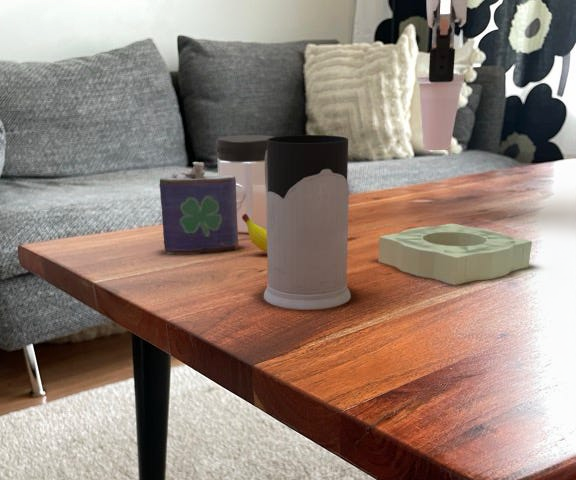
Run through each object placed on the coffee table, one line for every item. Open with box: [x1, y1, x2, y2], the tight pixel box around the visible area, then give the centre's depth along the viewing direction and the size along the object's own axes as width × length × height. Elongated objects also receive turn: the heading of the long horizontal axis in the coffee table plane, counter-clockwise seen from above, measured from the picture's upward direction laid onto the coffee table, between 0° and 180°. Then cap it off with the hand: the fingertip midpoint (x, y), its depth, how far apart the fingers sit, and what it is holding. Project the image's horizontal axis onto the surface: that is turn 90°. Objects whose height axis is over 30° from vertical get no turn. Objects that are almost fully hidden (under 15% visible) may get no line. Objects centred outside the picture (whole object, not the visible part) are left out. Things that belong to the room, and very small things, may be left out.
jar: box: [216, 134, 273, 234], centre depth 99 cm, size 9×8×12 cm
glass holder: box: [263, 134, 352, 311], centre depth 71 cm, size 9×14×15 cm, turn 24°
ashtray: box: [377, 222, 533, 286], centre depth 82 cm, size 13×13×3 cm
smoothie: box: [416, 73, 465, 151], centre depth 100 cm, size 6×6×14 cm
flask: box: [158, 161, 239, 255], centre depth 87 cm, size 9×3×11 cm, turn 103°
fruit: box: [242, 214, 267, 253], centre depth 86 cm, size 10×2×5 cm, turn 88°
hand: (440, 79), depth 99 cm, fingers closed on smoothie, 6 cm apart
